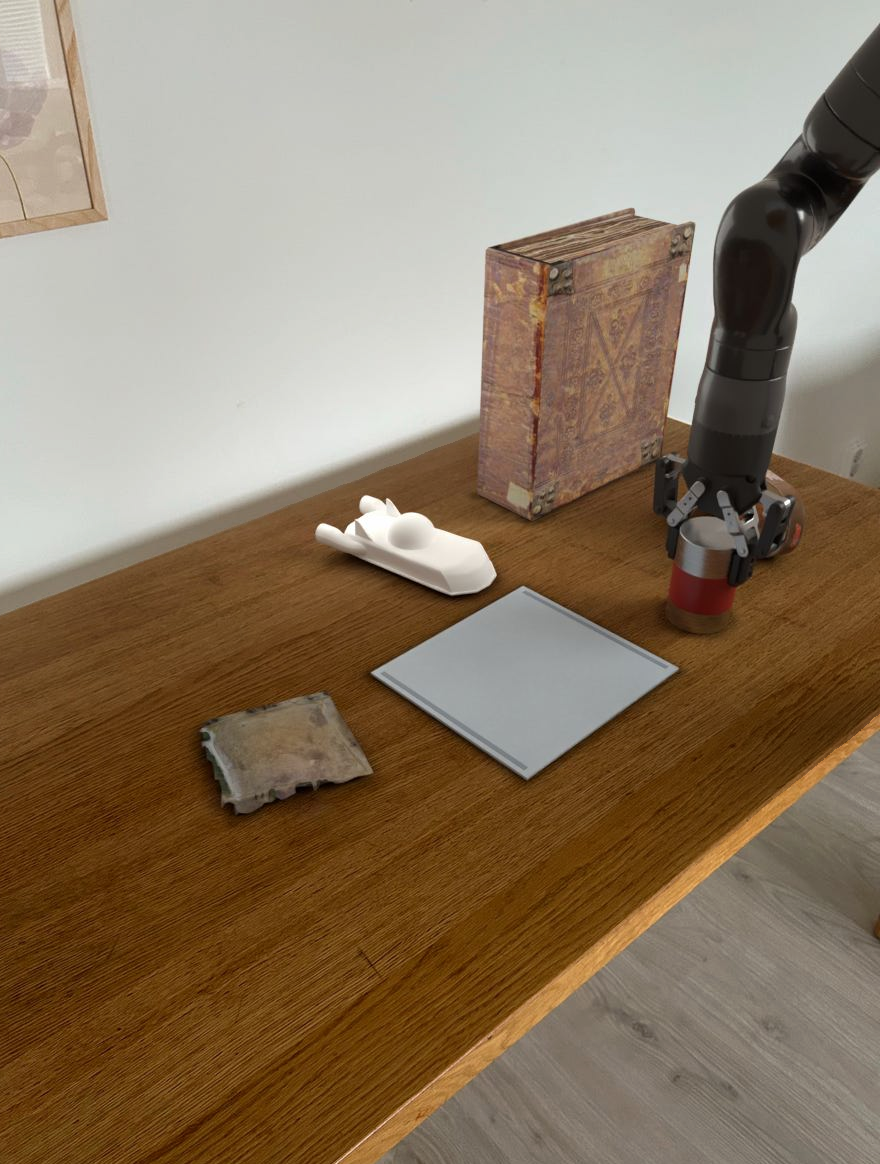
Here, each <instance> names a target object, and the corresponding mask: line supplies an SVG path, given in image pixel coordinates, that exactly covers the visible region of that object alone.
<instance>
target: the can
mask: <svg viewBox="0 0 880 1164" xmlns="http://www.w3.org/2000/svg"><path fill="white" fill-rule="evenodd" d="M735 553H737V550H736V546H735V543H734V539H733V536H732V535H730V534H729V533H728V530H727V526H726V522H725V521H723V520H721V519H718V518H717V517H715V516H698V517H692V518H688V520H687V521H685V522H684V523H683V524H682V525H681V526H680V530H679V536H678V542H677V547H676V553H675V558H674V560H673V563H672V564H673V565H672V569H671V576H670V582H669V587H668V594H667V601H666V606H665V613H664V614H665V617H666V619H667V620H668V622H669V623H670V624H671V625H672V626H674V627H676V628H677V629H679V630H682V631H684V632H687V633H691V634H698V635H709V634H715V633H718V632H721V631H723V630H724V629H726V627H727V626H728V625H729V622H730V617H731V612H732V608H733V605H734V600H735V596H736V591H737V587H736V588H735V587H732V586H730V585H729V584H728V582H729V577H730V573H731V568H732V563H733V559H734V554H735Z"/></svg>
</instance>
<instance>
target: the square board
mask: <svg viewBox="0 0 880 1164" xmlns="http://www.w3.org/2000/svg"><path fill="white" fill-rule="evenodd" d="M679 669H680V668H679V667H678V666H676V665H675V664H673V663H670V662H669V661H667V660H665V659H662V658H661V657H660V656H657V655H655V654H654V653H652V652H649V651H648V650H646V649H645V648H642V647H640V646H639V645H637V644H634V643H633V642H631V641H629V640H627V639H625V638H623V637H621V636H620V635H618V634H616V633H613V632H611V631H610V630H608V629H606V628H604V627H603V626H601V625H599V624H596V623H595V622H593V621H591V620H589V619H588V618H585V617H583V616H581V615H579V614H578V613H576V612H574V611H572V610H570V609H568V608H566V607H564V606H562V605H561V604H559V603H557V602H555V601H553V600H552V599H549V598H547V597H546V596H544V595H542V594H540V593H538V592H536V591H534V590H532V589H530V588H528V587H526V586H525V585H522V586H520V587H518V588H516V589H515V590H513V591H512V592H510V593H508V594H506V595H504V596H503V597H501V598H499V599H497V600H496V601H494V602H492V603H490V604H488V605H487V606H485V607H483V608H482V609H480V610H478V611H476V612H474V613H473V614H471V615H469V616H467V617H466V618H464V619H461V621H458V622H457V623H455V624H454V625H451V626H450V627H448V628H447V629H445V630H443V631H441V632H439V633H438V634H436V635H434V636H433V637H432V636H431V637H430V638H429V639H427V640H425V641H424V642H422V643H420V644H418V645H416V646H414V647H413V648H411V649H409V650H408V651H406V652H404V653H402V654H401V655H399V656H397V657H395V658H393V659H391V660H390V661H388V662H387V663H385V664H383V665H381V666H380V667H378V668H376V669H374V670H372V671H371V672H370V676H372V677H373V678H375V679H376V680H378V681H379V682H381V683H382V684H384V685H385V686H387V687H388V688H390V689H391V690H393V691H394V692H395V693H397V694H398V695H400V696H401V697H403V698H404V699H406V700H408V701H409V702H410V703H412V704H413V705H415V706H416V707H418V708H419V709H420V710H422V711H424V712H425V713H426V714H427V715H429V716H431V717H432V718H433V719H435V720H437V721H438V722H440V723H441V724H443V725H445V726H446V727H447V728H448V729H450V730H451V731H452V732H455V733H456V734H458V735H459V736H461V737H462V738H464V739H465V740H466V741H468V743H469V742H470V743H471V744H472V745H474V746H475V747H477V749H479V750H481V751H482V752H484V753H485V754H487V755H488V756H490V757H492V758H493V759H494V760H495V761H497V762H499V763H500V764H502V765H503V766H504V767H506V768H507V769H509V770H511V771H512V772H514V773H515V774H517V775H518V776H519V777H520V778H522V779H524V780H525V781H528V780H529V779H531V778H532V777H533V776H535V775H537V774H538V773H539V772H541V771H542V770H543V769H545V768H546V767H547V766H549V765H550V764H552V763H553V762H554V761H556V760H557V759H558V758H559V757H561V756H563V755H564V754H565V753H567V752H568V751H569V750H571V749H572V748H574V747H575V746H576V745H578V744H579V743H581V742H582V741H583V740H585V739H586V738H588V737H589V736H590V735H591V734H593V733H594V732H595V731H597V730H598V729H599V728H601V727H603V726H604V725H605V724H606V723H608V722H609V721H611V720H612V719H613V718H615V717H616V716H617V715H620V713H622V712H623V711H625V710H626V709H627V708H628V707H630V706H631V705H632V704H634V703H635V702H637V701H638V700H639V699H641V698H642V697H644V696H645V695H647V694H648V693H649V692H650V691H652V690H654V689H655V688H656V687H658V686H659V685H660V684H662V683H663V682H664V681H666V680H668V679H669V678H670V677H671V676H672V675H673V674H675V673H677V672H678V671H679Z"/></svg>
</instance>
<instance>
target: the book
mask: <svg viewBox="0 0 880 1164" xmlns="http://www.w3.org/2000/svg"><path fill="white" fill-rule="evenodd" d="M695 232H696V222H694V221H691V220H690V221H687V222H683V223H679V224H675V223H670V222H667V221H663V220H658V219H653V218H648V217H644V216H640V215H637V214H636V209H635V207H628V208H624V209H621V210H617V211H614V212H610V213H607V214H603V215H600V216H596V217H591V218H588V219H585V220H581V221H578V222H575V223H570V224H567V225H564V226H559V227H557V228H553V229H550V230H549V229H548V230H546V231H541V232H538V233H535V234H531V235H528V236H524V237H521V238H517V239H514V240H513V239H512V240H510V241H507V242H503V243H499V244H496V245H492V246H488V247H487V248H486V249H485V255H484V256H485V258H484V259H485V260H484V285H483V287H484V289H483V312H482V313H483V315H482V341H481V342H482V344H481V373H480V375H481V376H480V401H479V404H480V405H479V434H478V459H477V461H478V463H477V464H478V465H477V489H476V490H477V492H476V493H477V495H478V496H480V497H483V498H485V499H487V500H488V501H491V502H493V503H495V504H496V505H499V506H501V507H503V508H504V509H507V510H509V511H511V512H513V513H514V514H516V515H519V516H520V517H523V518H525V519H527V520H529V521H530V522H533V521H535V520H537V519H539V518H541V517H544V516H545V515H547V514H549V513H551V512H553V511H555V510H558V509H559V508H562V507H563V506H566V505H569V504H570V503H572V502H574V501H577V500H578V499H580V498H582V497H585V496H586V495H589V494H591V493H593V492H595V491H597V490H598V489H601V488H603V487H605V486H607V485H609V484H612V483H613V482H615V481H618V480H619V479H622V478H624V477H626V476H628V475H630V474H632V473H634V472H636V471H638V470H640V469H642V468H645V467H646V466H648V465H650V464H653V463H656V461H657V460H658V459H660V458H662V456H663V455H662V454H663V448H664V440H665V435H666V434H665V433H666V426H667V421H668V414H669V407H670V399H671V395H672V394H671V393H672V386H673V381H674V373H675V366H676V359H677V353H678V346H679V340H680V339H679V338H680V334H681V333H680V332H681V327H682V319H683V313H684V312H683V311H684V306H685V299H686V292H687V285H688V279H689V272H690V265H691V259H692V252H693V246H694V239H695Z"/></svg>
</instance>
